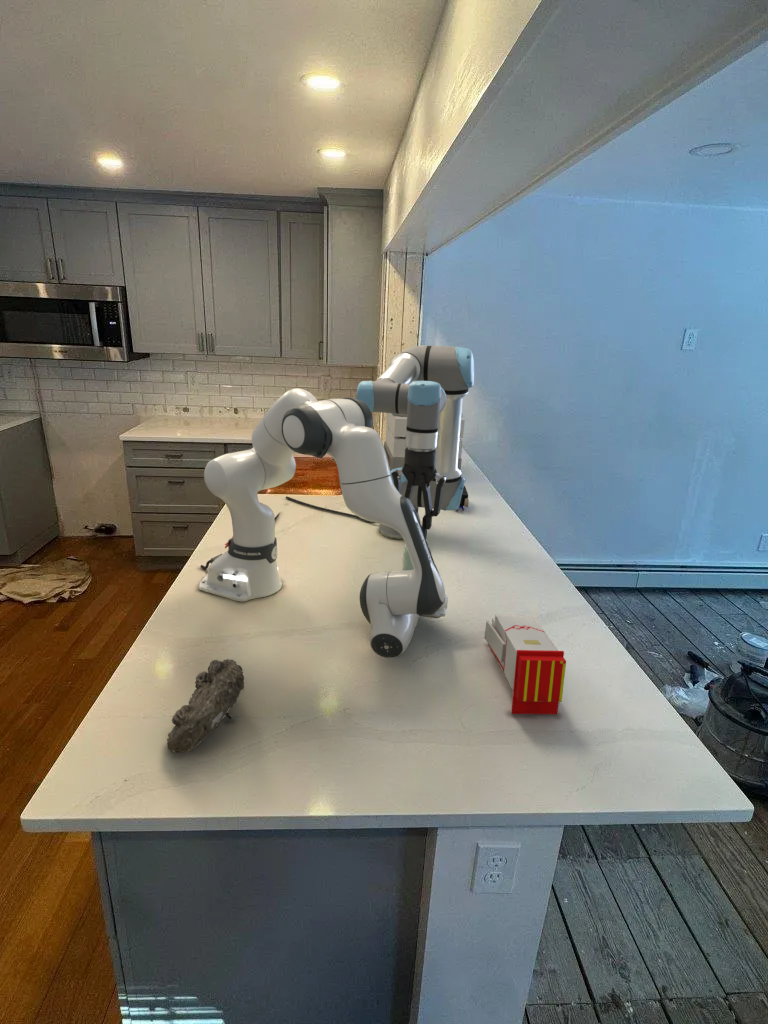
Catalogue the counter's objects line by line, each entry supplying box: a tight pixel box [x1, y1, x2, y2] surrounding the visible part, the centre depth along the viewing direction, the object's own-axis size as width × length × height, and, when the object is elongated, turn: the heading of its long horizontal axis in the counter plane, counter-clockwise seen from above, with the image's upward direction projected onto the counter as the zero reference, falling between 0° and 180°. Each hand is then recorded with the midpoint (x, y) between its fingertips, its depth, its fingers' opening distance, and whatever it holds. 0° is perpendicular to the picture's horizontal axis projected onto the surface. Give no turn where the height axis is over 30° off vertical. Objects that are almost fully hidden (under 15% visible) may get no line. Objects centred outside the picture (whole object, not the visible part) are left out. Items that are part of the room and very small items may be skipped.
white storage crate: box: [383, 413, 465, 472], centre depth 268 cm, size 34×33×41 cm
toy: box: [484, 614, 567, 716], centre depth 124 cm, size 12×13×30 cm
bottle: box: [401, 546, 414, 571], centre depth 146 cm, size 5×5×22 cm
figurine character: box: [455, 485, 470, 512], centre depth 229 cm, size 7×8×15 cm
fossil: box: [166, 658, 245, 754], centre depth 106 cm, size 22×10×15 cm
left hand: (412, 585), depth 148 cm, fingers closed on bottle, 5 cm apart
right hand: (414, 538), depth 143 cm, fingers closed on cap, 4 cm apart
